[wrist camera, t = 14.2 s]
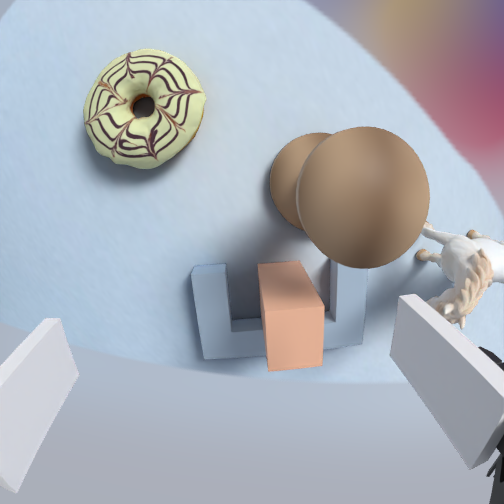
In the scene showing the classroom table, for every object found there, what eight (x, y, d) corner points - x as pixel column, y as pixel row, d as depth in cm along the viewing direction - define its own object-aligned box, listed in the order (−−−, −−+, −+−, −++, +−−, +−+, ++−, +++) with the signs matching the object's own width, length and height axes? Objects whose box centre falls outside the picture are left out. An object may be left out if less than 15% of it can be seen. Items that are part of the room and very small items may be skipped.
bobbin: (272, 233, 30) (293, 283, 18) (266, 135, 27) (284, 117, 15) (364, 227, 30) (431, 269, 18) (362, 134, 27) (434, 123, 15)
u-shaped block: (206, 346, 33) (204, 359, 30) (194, 265, 30) (190, 274, 28) (354, 332, 33) (362, 344, 31) (359, 252, 31) (368, 260, 28)
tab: (260, 311, 32) (268, 371, 22) (257, 263, 31) (264, 311, 21) (300, 307, 32) (322, 365, 22) (299, 260, 31) (324, 305, 21)
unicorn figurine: (351, 233, 30) (420, 284, 17) (493, 199, 29) (577, 224, 17) (359, 299, 32) (417, 375, 19) (494, 256, 31) (568, 296, 19)
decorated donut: (166, 187, 28) (156, 191, 25) (79, 134, 27) (60, 133, 23) (227, 90, 26) (225, 81, 23) (134, 43, 24) (121, 30, 21)
